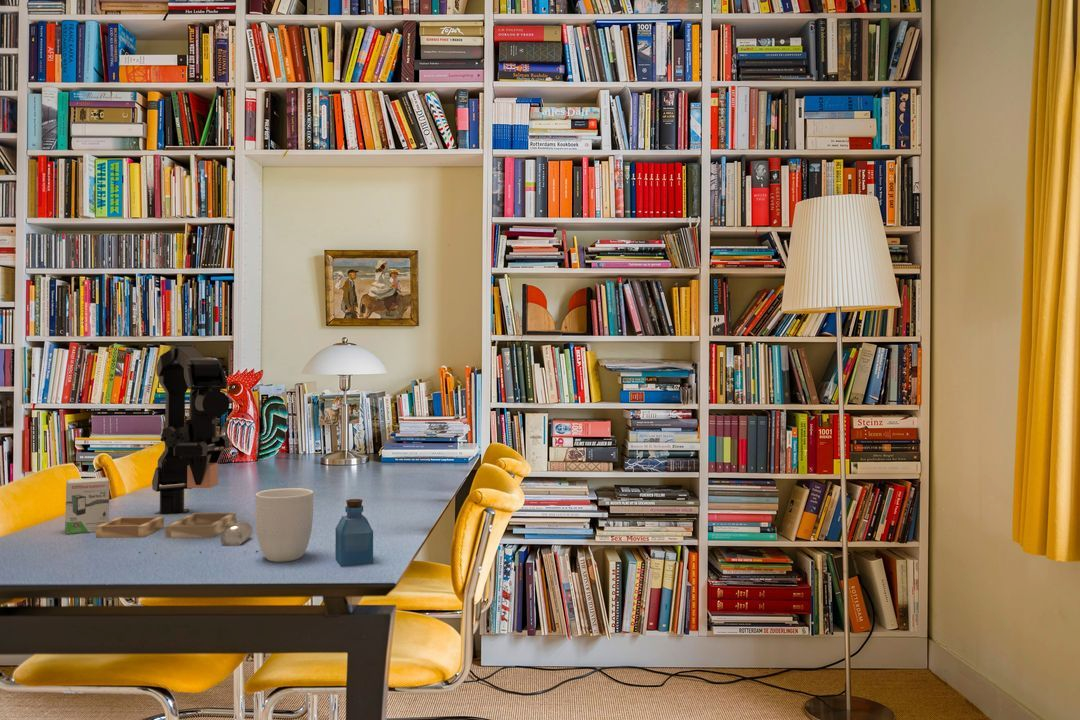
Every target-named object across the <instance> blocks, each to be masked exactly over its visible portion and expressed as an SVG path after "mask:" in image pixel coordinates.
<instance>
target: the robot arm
mask: <svg viewBox="0 0 1080 720" xmlns="http://www.w3.org/2000/svg"><path fill="white" fill-rule="evenodd" d="M155 368H156V376H157V377H158V384H159V385H160V386H161V388H162V389H163V391H164V392H165V413H164V414H165V416H164V418H165V419H164V421H165V423H164V428H163V429H162V431H161V434H160V441H161V442H164V450H163V452H162V453H161V455H159V457H158V459H157V466H156V467H155V469H154V473H153V477H152V480H151V489H152V490H153V491H154V492H156V493H158V492H159V510H158V511H156V512H155V513H154V515H168V514H169V515H174V514H175V515H176V514H177V515H179V514H185V513H188V512H190V508H185V490H188V489H189V490H192V489H193V488H187V466H188V465H189V466H190V468H191V472H192V475H193V478H194V481H195V484H196V485H201V483H202V481H203V478H204V475H205V472H206V469H207V466H208V463H218V464H219V462H220V460H221V458H222V456H223V454H224V453H225V451H226V449H227V448H230V445H231V441H230V440H231V439H230V438H229V437H228V436H227V435H225V434H223V435H222V434H221V435H220V434H217V433H218V432H217V431H218V429H217V426H218V425H217V424H220V422H221V421H220V419H221V418H220V417H222V416H223V415H225V414H226V413H227V412H228V410H229V409H230V405H231V404H230V399H229V397H228V395H227V394H226V393H225V392H222V391H221V390H227V389H228V387H227V385H228V380H227V375H226V372H225V370H224V368H223V365H222V364H221V363H220V362H219V360H218V359H215V358H208V357H205V356H203V355H202V354H201V353H200V352H199V351H198V350H197V349H196V345H192V344H191V343H188V344H187V343H183V344H182V343H175V344H172V345H171V347H170V349H169V350H167V351H166V352H164V353H162V354H160V356H159V358H158V361H157V363H156V367H155ZM187 390H190V391H189V416H188V419H186V417H185V416H186V414H185V413H186V392H187ZM218 417H219V418H218ZM221 447H222V448H223V449H219V448H221Z"/></svg>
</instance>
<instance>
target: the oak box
mask: <svg viewBox="0 0 1080 720" xmlns="http://www.w3.org/2000/svg"><path fill="white" fill-rule="evenodd" d="M164 519H165V518H164V516H138V517H137V516H127V517H125V516H124V517H123V516H118V517H115V518H114V519H111V520H110V519H109V521H108V522H106V523H103V524H101V525H98V526H96V532H95V539H97V538H98V539H101V538H102V539H104V538H105V539H106V538H107V539H108V538H111V539H113V538H114V539H115V538H116V539H117V538H118V539H119V538H121V539H122V538H127V539H129V538H146V537H147V536H150V535H152V534H155V533H156V532H158V531H160V530H162V529H164V525H165V523H164V522H165V520H164Z"/></svg>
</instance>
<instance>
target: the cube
mask: <svg viewBox="0 0 1080 720" xmlns="http://www.w3.org/2000/svg"><path fill="white" fill-rule="evenodd" d="M218 484H219V462H218V463H208V466H207V469H206V472H205V475H204V478H203V481H202V483H201V485H196V484H195V481H194V478H193V475H192V472H191V468H190V466H189V465H188V466H187V488H192V489H211V488H213V487H215V486H218Z"/></svg>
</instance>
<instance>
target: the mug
mask: <svg viewBox="0 0 1080 720" xmlns="http://www.w3.org/2000/svg"><path fill="white" fill-rule="evenodd" d="M254 507H255V511H254V514H255V518H254V519H255V520H254V521H255V522H254V523H255V531H256V537H257V542H258V545H259V548H260V550H261V552H262V554H263V556H264V557H265V558H266V559H267V561H270V562H276V563H283V562H286V563H287V562H292V561H296V560H299V559H300V558H302V556H303V555H304V554H305V552H306V550H307V548H308V546H309V543H310V539H311V535H312V528H313V521H314V491H313V490H311V489H308V488H301V487H300V488H299V487H295V488H294V487H293V488H292V487H289V488H285V487H284V488H273V489H266V490H261V491H258V492H256V494H255V506H254Z"/></svg>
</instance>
